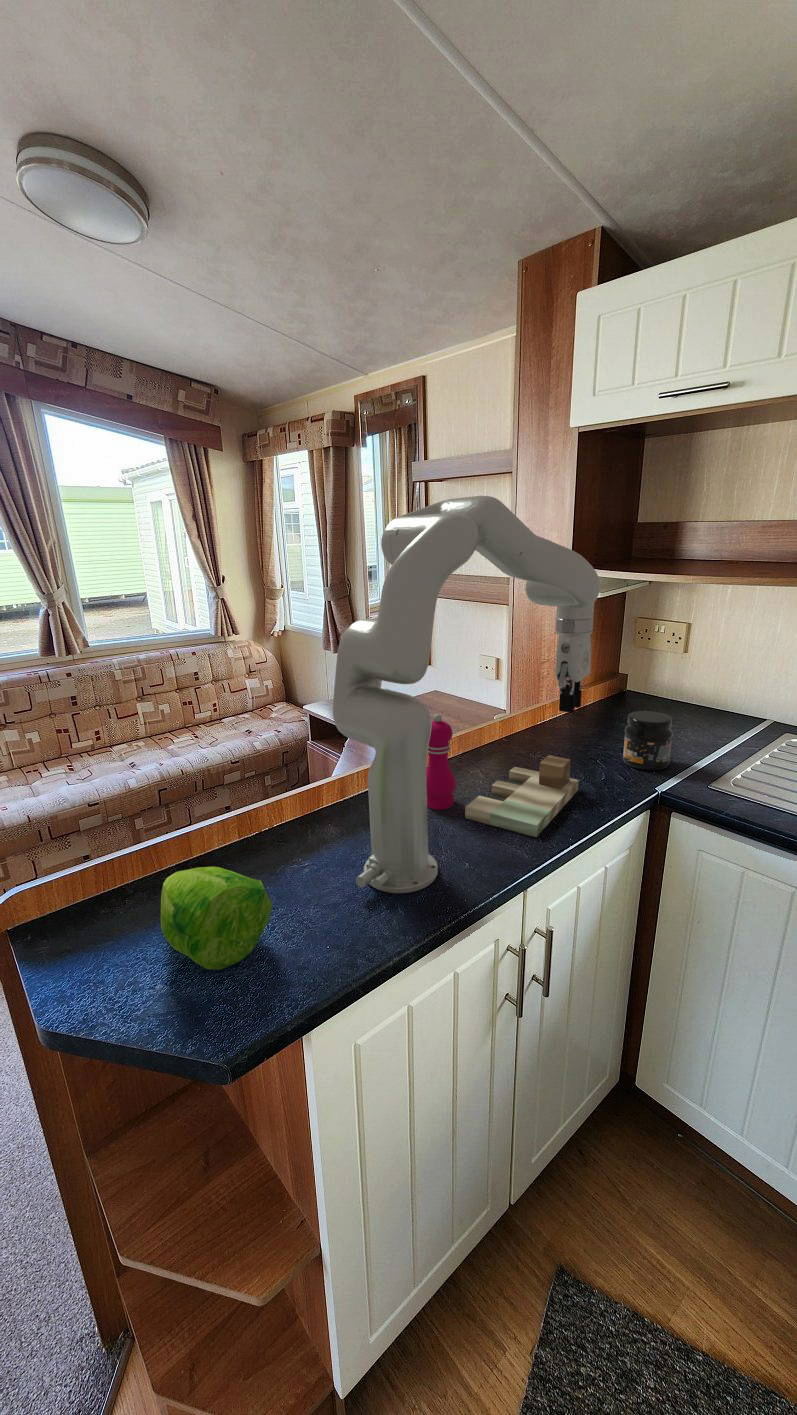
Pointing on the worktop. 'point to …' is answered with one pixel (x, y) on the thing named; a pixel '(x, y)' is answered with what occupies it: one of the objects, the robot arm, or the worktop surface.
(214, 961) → the lettuce
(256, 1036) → the worktop surface
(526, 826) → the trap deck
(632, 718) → the supplement container
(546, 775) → the walnut block
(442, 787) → the pepper mill
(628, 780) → the worktop surface
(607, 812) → the worktop surface
